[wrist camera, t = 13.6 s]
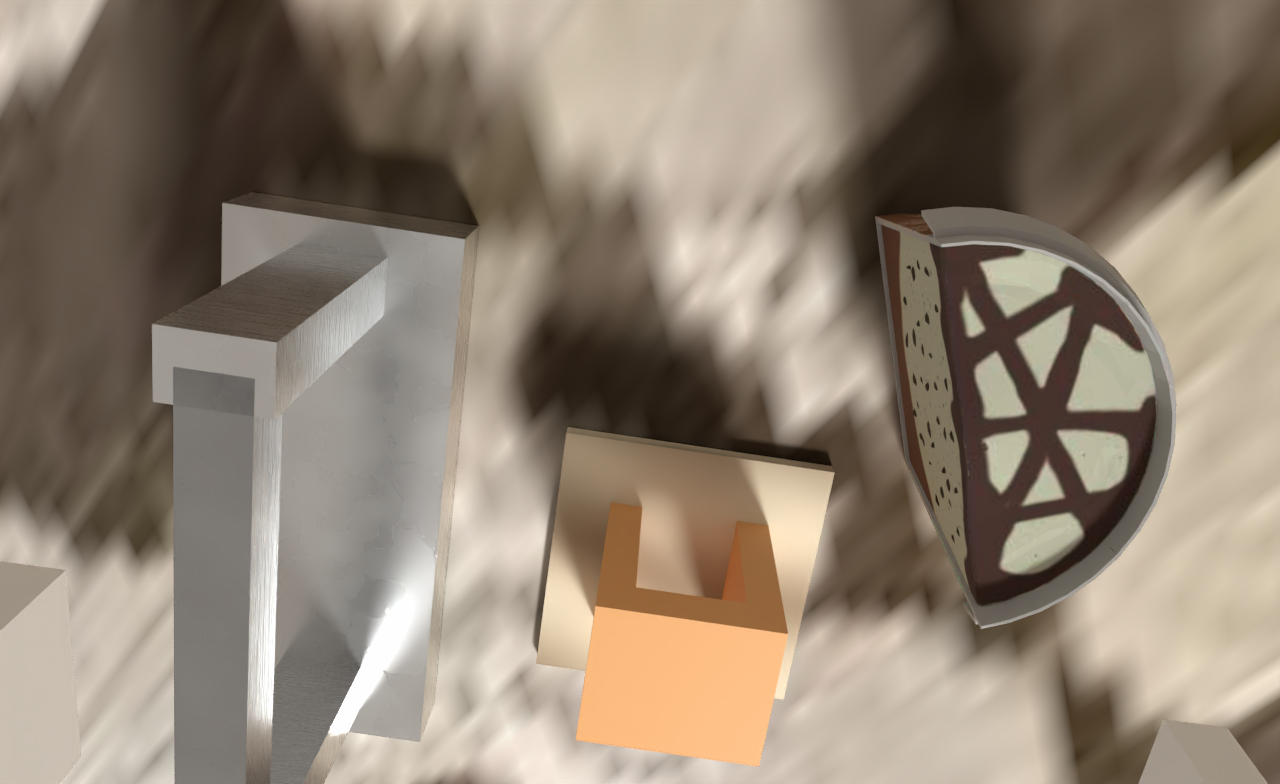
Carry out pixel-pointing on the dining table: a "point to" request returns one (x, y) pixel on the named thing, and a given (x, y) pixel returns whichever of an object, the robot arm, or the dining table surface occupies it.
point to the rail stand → (312, 483)
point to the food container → (1023, 401)
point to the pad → (675, 528)
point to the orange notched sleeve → (684, 653)
